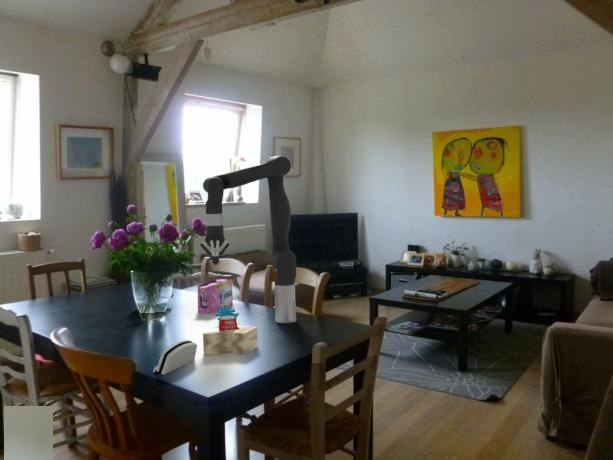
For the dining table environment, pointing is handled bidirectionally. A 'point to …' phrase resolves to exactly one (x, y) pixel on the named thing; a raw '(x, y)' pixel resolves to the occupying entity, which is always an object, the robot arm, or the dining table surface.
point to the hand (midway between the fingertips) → (215, 264)
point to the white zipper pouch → (176, 356)
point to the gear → (226, 312)
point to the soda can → (227, 323)
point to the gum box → (214, 295)
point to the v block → (231, 340)
